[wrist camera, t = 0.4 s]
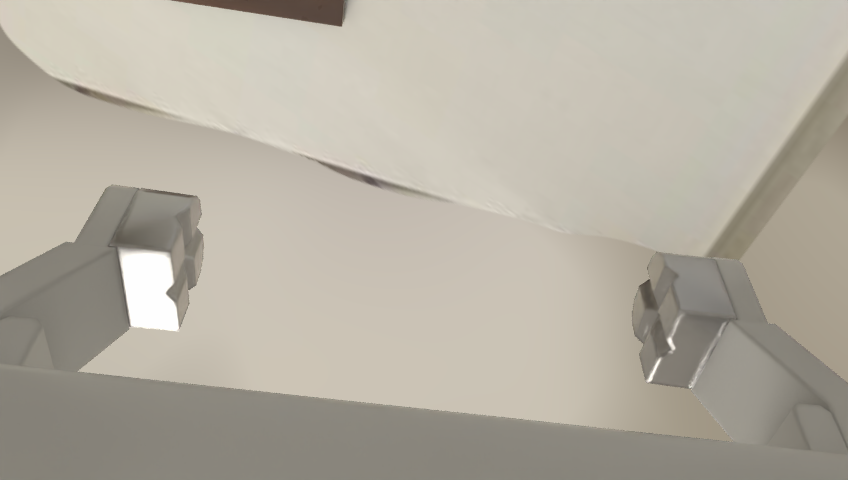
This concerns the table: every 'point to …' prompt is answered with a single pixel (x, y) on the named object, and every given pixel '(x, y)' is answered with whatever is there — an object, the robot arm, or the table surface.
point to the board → (285, 8)
